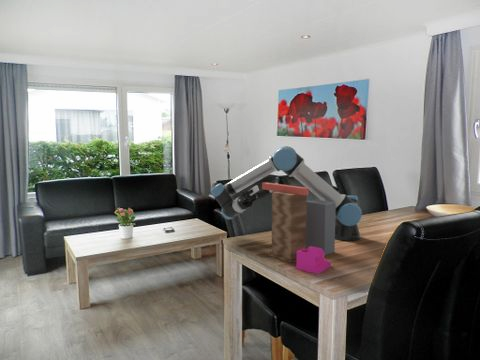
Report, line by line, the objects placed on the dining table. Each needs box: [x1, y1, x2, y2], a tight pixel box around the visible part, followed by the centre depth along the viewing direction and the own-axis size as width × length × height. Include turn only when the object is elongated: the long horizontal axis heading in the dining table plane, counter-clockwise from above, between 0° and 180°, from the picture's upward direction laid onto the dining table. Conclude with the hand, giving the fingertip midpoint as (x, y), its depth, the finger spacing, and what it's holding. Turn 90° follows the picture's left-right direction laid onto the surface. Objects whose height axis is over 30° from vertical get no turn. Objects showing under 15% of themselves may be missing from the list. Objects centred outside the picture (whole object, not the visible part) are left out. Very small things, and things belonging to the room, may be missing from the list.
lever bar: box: [261, 181, 310, 196], centre depth 180 cm, size 26×3×3 cm, turn 41°
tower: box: [268, 191, 308, 264], centre depth 180 cm, size 14×12×30 cm
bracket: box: [296, 246, 332, 275], centre depth 167 cm, size 12×10×10 cm
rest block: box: [306, 199, 336, 257], centre depth 188 cm, size 12×8×24 cm, turn 41°
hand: (268, 186), depth 188 cm, fingers open, 13 cm apart
